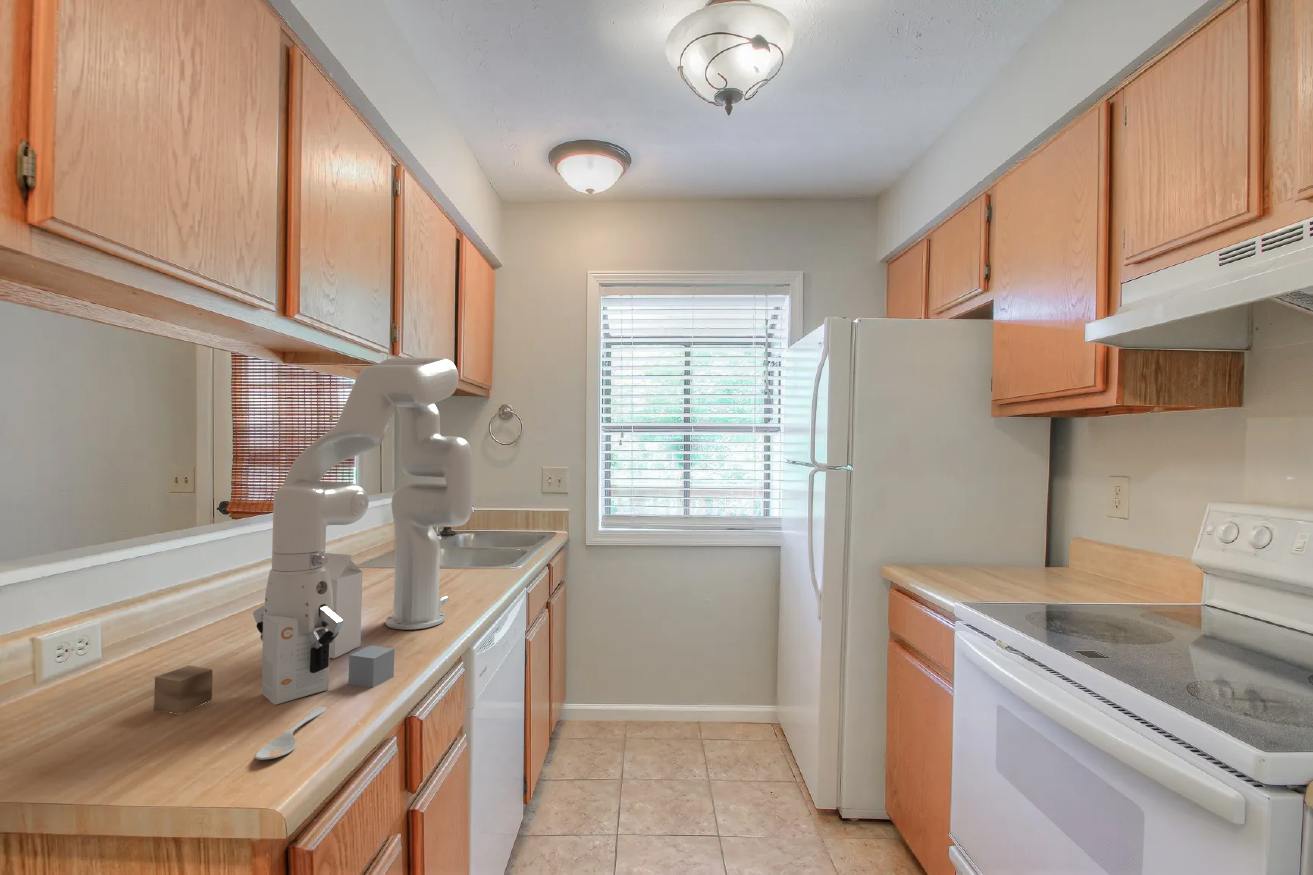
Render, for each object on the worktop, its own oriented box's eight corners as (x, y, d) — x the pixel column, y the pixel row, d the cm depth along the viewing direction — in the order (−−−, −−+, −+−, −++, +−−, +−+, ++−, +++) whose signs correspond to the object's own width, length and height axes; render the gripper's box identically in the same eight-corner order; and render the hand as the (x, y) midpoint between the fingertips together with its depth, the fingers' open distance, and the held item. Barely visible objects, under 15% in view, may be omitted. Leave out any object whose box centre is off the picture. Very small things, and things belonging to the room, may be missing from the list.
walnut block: (187, 696, 95) (188, 665, 95) (211, 701, 94) (212, 669, 94) (153, 710, 90) (154, 677, 90) (178, 715, 89) (179, 681, 89)
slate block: (369, 673, 106) (370, 645, 106) (393, 677, 105) (394, 648, 105) (348, 684, 101) (349, 654, 101) (373, 688, 100) (373, 658, 100)
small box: (314, 679, 103) (316, 604, 103) (329, 690, 99) (331, 611, 99) (259, 694, 96) (262, 613, 97) (273, 706, 92) (276, 622, 92)
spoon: (243, 771, 75) (244, 758, 75) (318, 700, 96) (319, 690, 96) (278, 770, 76) (279, 757, 76) (345, 699, 96) (346, 689, 96)
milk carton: (334, 659, 112) (337, 558, 112) (302, 655, 114) (305, 556, 114) (360, 646, 119) (363, 551, 119) (329, 643, 121) (332, 549, 121)
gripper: (359, 561, 99) (356, 664, 99) (277, 553, 104) (274, 652, 103) (323, 570, 92) (320, 682, 92) (236, 561, 96) (233, 668, 96)
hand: (295, 666), depth 98 cm, fingers open, 9 cm apart
